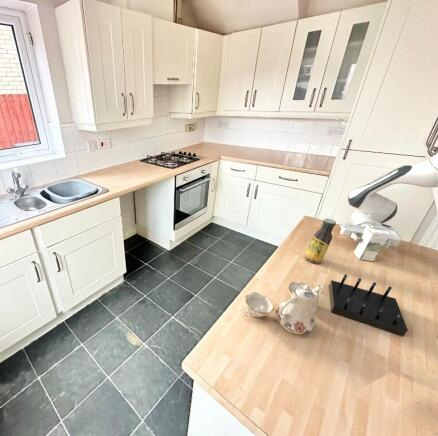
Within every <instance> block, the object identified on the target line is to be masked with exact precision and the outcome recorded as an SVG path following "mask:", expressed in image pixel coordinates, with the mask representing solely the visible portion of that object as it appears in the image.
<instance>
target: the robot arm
mask: <svg viewBox="0 0 438 436" xmlns="http://www.w3.org/2000/svg"><path fill="white" fill-rule="evenodd" d="M399 184H400V185H402V184H403V185H412V186H416V187H422V188H428V189H429V188H430V189H431V188H438V152H437V153H436V154H434V155H433V156H431V157H429V158H428V159H426V160H423V161H421V162H419V163H415V164H412V165H402V166H400V167H397V168H395V169H394V170H391V171H389V172H387V173H386V174H384V175H381V176H380V177H378V178H376V179H374V180H373V181H371V182H369V183H366V184H365V185H362V186H359V187H356V189H353V190H352V191H351V192H350V193H349V194H348V196H347V202H348V205H349V206H351V207H353V208H355V209H354V211H353V212H352V214H351V217H350V220H351V221H350V222H351V223H348V222H343V223H339V224H338V226H339V228H340V230H339V234H340V235H341V236H342V237H343V236H344V237H348V238H351V239H353V240H354V242H357V243H358V242H359V241H360V239H361V236H362V234H363V232H364V230H365V228H366V226H377V227H383V228H385V229H386V230H387V231H388V233H389V234H390V235H389V237H388V239H387V241H386V242H385V244H384V246H383V248H386V249H389V248H390V246H391V247H396V248H397V247H399V246H400V244H401V243H402V237H401V236H400V234H399V232H397V231H395V227H394V226H392V225H388V224H385V223H386V222H388V221H390V220H392V219H393V218H395V216H396V215H397V212H398V203H397V202H395V201H393V200H391V199H389V198H387V197H385V196H384V195H382V194H380V193H378V192H380V191H382V190H384V189H386V188H389V187H390V186H393V185H399Z"/></svg>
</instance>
